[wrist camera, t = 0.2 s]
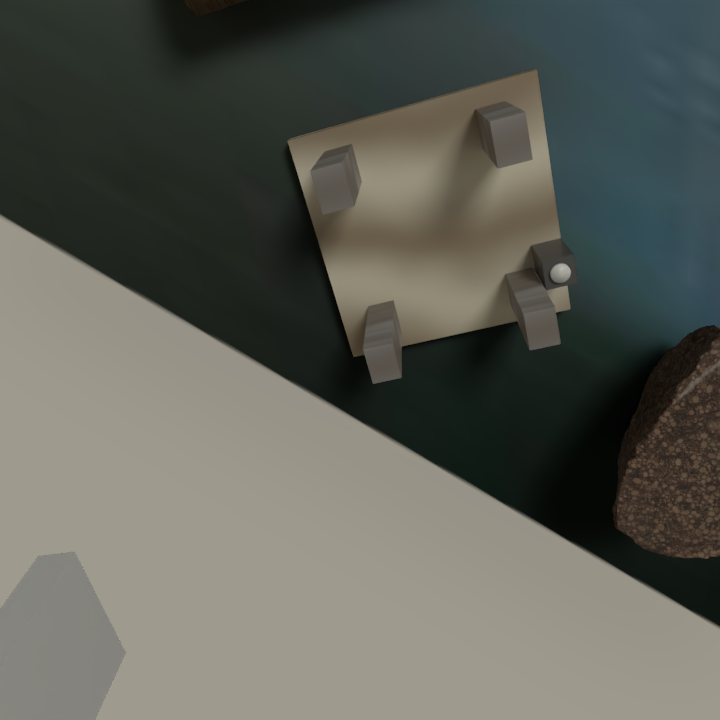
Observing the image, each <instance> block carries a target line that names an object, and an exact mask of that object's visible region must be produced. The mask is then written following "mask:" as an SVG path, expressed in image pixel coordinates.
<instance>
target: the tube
mask: <svg viewBox="0 0 720 720" xmlns="http://www.w3.org/2000/svg"><path fill="white" fill-rule="evenodd" d="M245 1H248V0H184V2H185V3H186V5H187V6H188V8H189V9H190V10H191V11H192V12H193V13H194V14H195V15H197V16H202V15H205V14H208V13H211V12H215V11H218V10H221V9H224V8H227V7H230V6H233V5H236V4H239V3H242V2H245Z"/></svg>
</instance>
